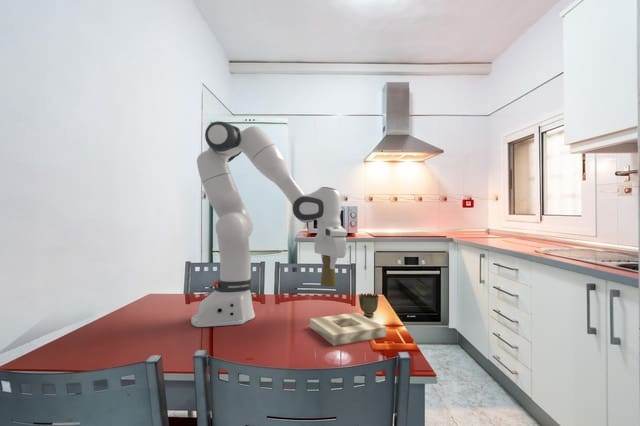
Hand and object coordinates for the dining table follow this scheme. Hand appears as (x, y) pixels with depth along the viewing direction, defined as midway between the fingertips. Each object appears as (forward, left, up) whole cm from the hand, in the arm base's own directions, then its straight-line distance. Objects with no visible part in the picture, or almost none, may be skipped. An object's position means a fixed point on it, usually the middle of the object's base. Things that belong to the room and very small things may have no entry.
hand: (328, 267), depth 125 cm
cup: (+14, -5, -19) cm, 24 cm away
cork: (0, 0, -7) cm, 7 cm away
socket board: (-2, -17, -18) cm, 25 cm away
